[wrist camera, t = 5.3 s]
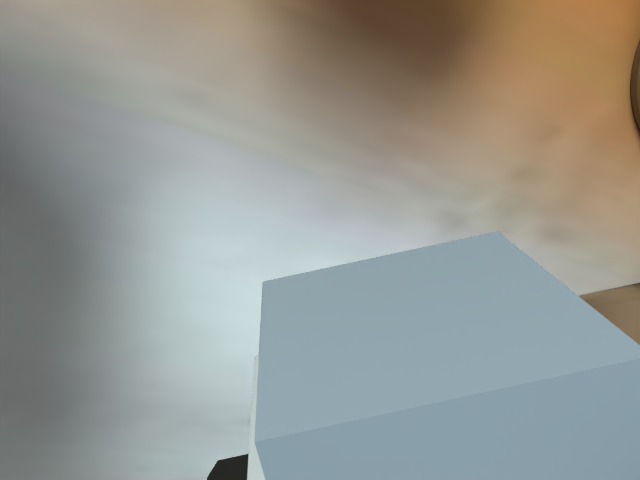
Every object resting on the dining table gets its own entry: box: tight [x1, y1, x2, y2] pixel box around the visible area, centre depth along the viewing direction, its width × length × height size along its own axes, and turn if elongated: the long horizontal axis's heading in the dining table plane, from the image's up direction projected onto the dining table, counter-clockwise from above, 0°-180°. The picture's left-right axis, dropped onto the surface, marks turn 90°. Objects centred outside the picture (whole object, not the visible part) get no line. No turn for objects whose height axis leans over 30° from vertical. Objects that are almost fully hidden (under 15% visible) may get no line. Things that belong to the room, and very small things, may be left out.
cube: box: [254, 232, 640, 480], centre depth 14 cm, size 7×7×7 cm
